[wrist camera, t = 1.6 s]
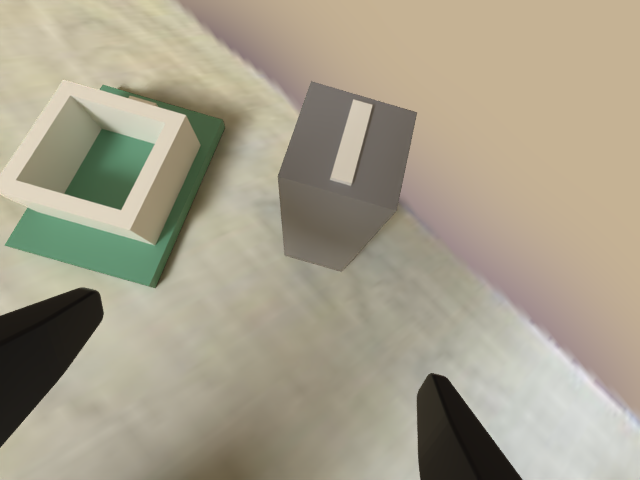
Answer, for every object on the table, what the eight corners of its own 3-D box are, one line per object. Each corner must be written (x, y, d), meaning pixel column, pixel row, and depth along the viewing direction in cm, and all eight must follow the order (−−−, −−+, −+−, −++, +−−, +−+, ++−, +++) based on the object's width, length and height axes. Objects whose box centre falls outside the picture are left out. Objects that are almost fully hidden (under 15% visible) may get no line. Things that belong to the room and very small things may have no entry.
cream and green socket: (155, 288, 21) (121, 278, 17) (17, 249, 21) (-52, 229, 17) (224, 127, 25) (211, 86, 21) (109, 93, 25) (72, 46, 21)
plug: (341, 271, 23) (398, 208, 11) (284, 255, 23) (277, 173, 11) (354, 218, 24) (419, 108, 12) (301, 202, 24) (311, 77, 12)
